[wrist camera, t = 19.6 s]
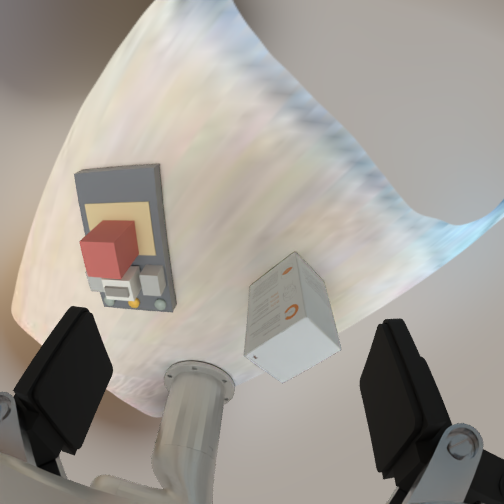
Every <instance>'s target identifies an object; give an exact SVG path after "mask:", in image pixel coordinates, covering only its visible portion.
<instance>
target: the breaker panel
mask: <svg viewBox="0 0 504 504" xmlns="http://www.w3.org/2000/svg"><path fill="white" fill-rule="evenodd" d="M74 177H75V183H76V189H77V195H78V201H79V206H80V211H81V216H82V221H83V226H84V231H85V235H87V234H88V233H89V232H90V231H91V230H92V229H94V228H95V227H96V226H97V225H98V224H99V223H100V222H101V221H102V220H127V221H134V222H135V229H136V236H137V243H138V250H139V255H138V256H137V257H136V259H135V260H134V262H133V263H132V264H131V266H139V269H140V275H139V277H140V281H141V286H142V289H141V290H140V292H139V294H138V296H137V297H136V299H135V301H123V300H111V299H107V298H106V295H105V291H104V287H103V284H102V280H101V279H102V278H99V277H88V275H87V271H86V275H87V279H88V282H89V286H90V289H91V291H96V292H100V294H101V297H102V301H103V304H104V307H114V308H125V309H136V310H148V311H161V312H173V311H174V309H175V306H176V298H175V292H174V286H173V279H172V272H171V265H170V258H169V251H168V243H167V235H166V227H165V218H164V209H163V199H162V189H161V178H160V166H159V164H146V165H131V166H118V167H106V168H96V169H86V170H81V171H79V172H77V173H75V174H74Z"/></svg>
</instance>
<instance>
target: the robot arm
mask: <svg viewBox="0 0 504 504" xmlns="http://www.w3.org/2000/svg"><path fill="white" fill-rule="evenodd" d="M112 373H113V367H112V364H111V361H110V359H109V357H108V354H107V352H106V349H105V347H104V344H103V341H102V339H101V336H100V333H99V331H98V328H97V325H96V322H95V320H94V317H93V314H92V313H90V312H89V310H88V309H87V308H84V307H75V306H72V307H70V308H69V309H68V310H67V312H66V313H65V314H64V316H63V317H62V319H61V320H60V321H59V323H58V324H57V325H56V327H55V328H54V330H53V331H52V332H51V334H50V335H49V337H48V338H47V339H46V341H45V342H44V344H43V345H42V347H41V348H40V350H39V351H38V353H37V354H36V356H35V357H34V358H33V360H32V361H31V363H30V365H29V366H28V368H27V369H26V371H25V372H24V374H23V375H22V377H21V379H20V380H19V382H18V383H17V385H16V387H15V388H14V390H13V391H14V392H15V395H14V397H13V396H12V395H11V394H9V393H7V392H0V504H213V483H214V473H215V466H216V457H217V449H218V442H219V434H220V427H221V420H222V412H223V405H224V404H226V403H227V402H229V401H230V400H231V399H232V397H233V395H234V390H235V387H234V383H233V381H232V379H231V378H230V376H229V375H228V374H226V373H225V372H224V371H222V370H221V369H219V368H217V367H215V366H213V365H210V364H207V363H202V362H196V361H186V362H180V363H177V364H174V365H173V366H171V367H170V368H169V369H168V370H167V372H166V374H165V377H164V384H165V387H166V388H167V390H168V391H169V395H168V399H167V402H166V406H165V409H164V413H163V417H162V421H161V424H160V427H159V431H158V435H157V439H156V442H155V446H154V450H153V453H152V458H151V459H152V460H151V464H152V468H153V472H154V474H155V476H156V477H157V479H158V481H159V483H160V484H161V486H162V487H163V489H158V488H152V487H148V486H145V485H141V484H137V483H134V482H131V481H128V480H125V479H121V478H119V477H115V476H111V475H100V476H98V477H96V478H95V479H94V480H93V481H92V483H91V485H90V487H87V486H85V485H81V484H79V483H76V482H73V481H71V480H68V479H67V476H66V474H65V471H64V468H63V466H62V463H61V460H60V457H59V454H60V452H61V450H62V451H63V452H66V453H69V454H72V455H75V453H76V451H77V449H80V448H81V446H82V444H83V442H84V439H85V437H86V434H87V432H88V430H89V427H90V425H91V422H92V420H93V418H94V415H95V413H96V411H97V408H98V406H99V404H100V401H101V399H102V397H103V394H104V392H105V390H106V388H107V385H108V383H109V381H110V379H111V377H112ZM360 391H361V395H362V399H363V404H364V408H365V413H366V417H367V422H368V426H369V432H370V436H371V441H372V446H373V452H374V457H375V463H376V468H377V471H378V472H382V475H383V479H388V478H393V477H394V478H395V483H396V486H397V487H396V489H395V491H394V492H393V494H392V495H391V497H390V499H389V500H388V501H387V503H386V504H504V459H501V458H499V457H497V456H496V455H494V454H491V453H489V452H488V451H486V450H484V449H483V439H482V437H481V435H480V433H479V432H478V431H477V430H476V429H475V428H474V427H472V426H471V425H467V424H464V423H457V424H454V425H452V423H451V420H450V418H449V415H448V413H447V410H446V408H445V405H444V403H443V400H442V397H441V395H440V393H439V390H438V388H437V386H436V383H435V381H434V378H433V376H432V374H431V371H430V369H429V367H428V365H427V362H426V361H425V359H424V358H423V357H420V355H419V352H418V350H417V348H416V346H415V344H414V341H413V339H412V337H411V335H410V333H409V331H408V329H407V326H406V324H405V322H404V321H403V319H385V320H384V321H383V324H379V325H378V327H377V330H376V333H375V336H374V340H373V343H372V346H371V349H370V352H369V355H368V358H367V361H366V364H365V367H364V370H363V372H362V375H361V378H360Z"/></svg>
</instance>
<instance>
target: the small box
mask: <svg viewBox="0 0 504 504" xmlns="http://www.w3.org/2000/svg"><path fill="white" fill-rule="evenodd" d="M339 351H341V345H340V341H339V337H338V333H337V329H336V325H335V321H334V317H333V313H332V309H331V305H330V301H329V298H328V294H327V291H326V287H325V283H324V281H323V280H322V279H321V278H320V277H319V276H318V275H317V274H316V273H315V272H314V270H313V269H312V268H311V267H310V266H309V265H308V264H307V263H306V262H305V261H304V260H303V259H302V258H301V257H300V256H299V255H298V253H297V252H294V253H292V254H291V255H290V256H288V257H287V258H286V259H284V260H283V261H282V262H281V263H279V264H278V265H277V266H275V267H274V268H273V269H271V270H270V271H269V272H267V273H266V274H265V275H264V276H262V277H261V278H260V279H258V280H257V281H256V282H255V283H253V284H252V285H251V286H250V291H249V303H248V315H247V326H246V338H245V350H244V356H245V357H246V358H247V359H249V360H250V361H251V362H253V363H254V364H255V365H257V366H258V367H260V368H261V369H262V370H264V371H265V372H267V373H268V374H269V375H271V376H272V377H274V378H275V379H277V380H278V381H280V382H281V383H285V382H286V381H288V380H290V379H292V378H294V377H295V376H297V375H299V374H301V373H302V372H305V371H306V370H308V369H310V368H312V367H313V366H315V365H317V364H318V363H320V362H322V361H323V360H325V359H327V358H329V357H331V356H332V355H334V354H336V353H337V352H339Z"/></svg>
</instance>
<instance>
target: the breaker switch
mask: <svg viewBox="0 0 504 504" xmlns="http://www.w3.org/2000/svg"><path fill="white" fill-rule="evenodd" d="M139 275H140V269H139V266H130V267H129V269H128V270H127V272H126V273H125V274H124V276H123V277H122V279H111V278H102V279H101V280H102V284H103V287H104V291H105V295H106V298H107V299H111V300H123V301H135V299H136V297H137V296H138V294H139V292H140V290H141V289H142V286H141V281H140V277H139Z"/></svg>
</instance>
